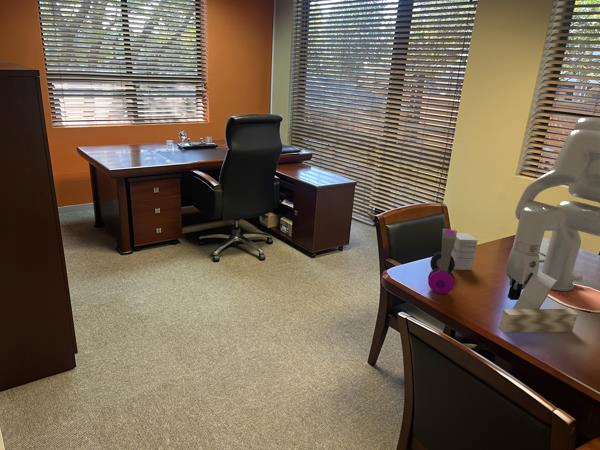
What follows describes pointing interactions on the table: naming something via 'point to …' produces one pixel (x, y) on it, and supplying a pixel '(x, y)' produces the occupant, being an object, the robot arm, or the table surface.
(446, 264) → the headphones
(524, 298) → the small box
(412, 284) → the table surface
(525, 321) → the birch board
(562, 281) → the robot arm
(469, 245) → the supplement box
